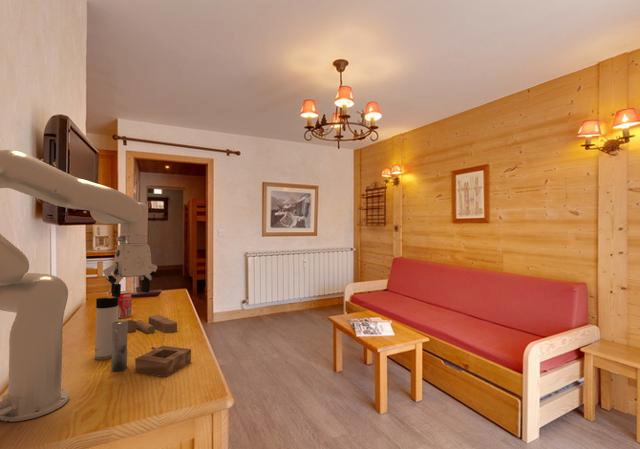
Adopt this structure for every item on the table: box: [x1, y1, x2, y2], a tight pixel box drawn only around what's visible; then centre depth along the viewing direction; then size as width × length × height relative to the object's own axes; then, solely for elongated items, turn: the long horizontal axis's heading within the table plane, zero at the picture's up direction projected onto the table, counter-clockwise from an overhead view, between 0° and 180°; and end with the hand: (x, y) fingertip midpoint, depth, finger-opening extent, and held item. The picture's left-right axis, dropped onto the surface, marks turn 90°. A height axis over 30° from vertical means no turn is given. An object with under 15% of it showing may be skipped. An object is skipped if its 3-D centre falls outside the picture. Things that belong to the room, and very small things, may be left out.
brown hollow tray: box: [134, 345, 192, 378], centre depth 99 cm, size 11×11×4 cm
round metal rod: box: [110, 320, 128, 372], centre depth 97 cm, size 4×4×14 cm
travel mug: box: [94, 297, 119, 361], centre depth 106 cm, size 6×7×20 cm
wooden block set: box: [126, 314, 178, 335], centre depth 131 cm, size 17×6×18 cm
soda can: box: [118, 290, 133, 320], centre depth 153 cm, size 7×7×12 cm
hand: (131, 294), depth 101 cm, fingers open, 9 cm apart
